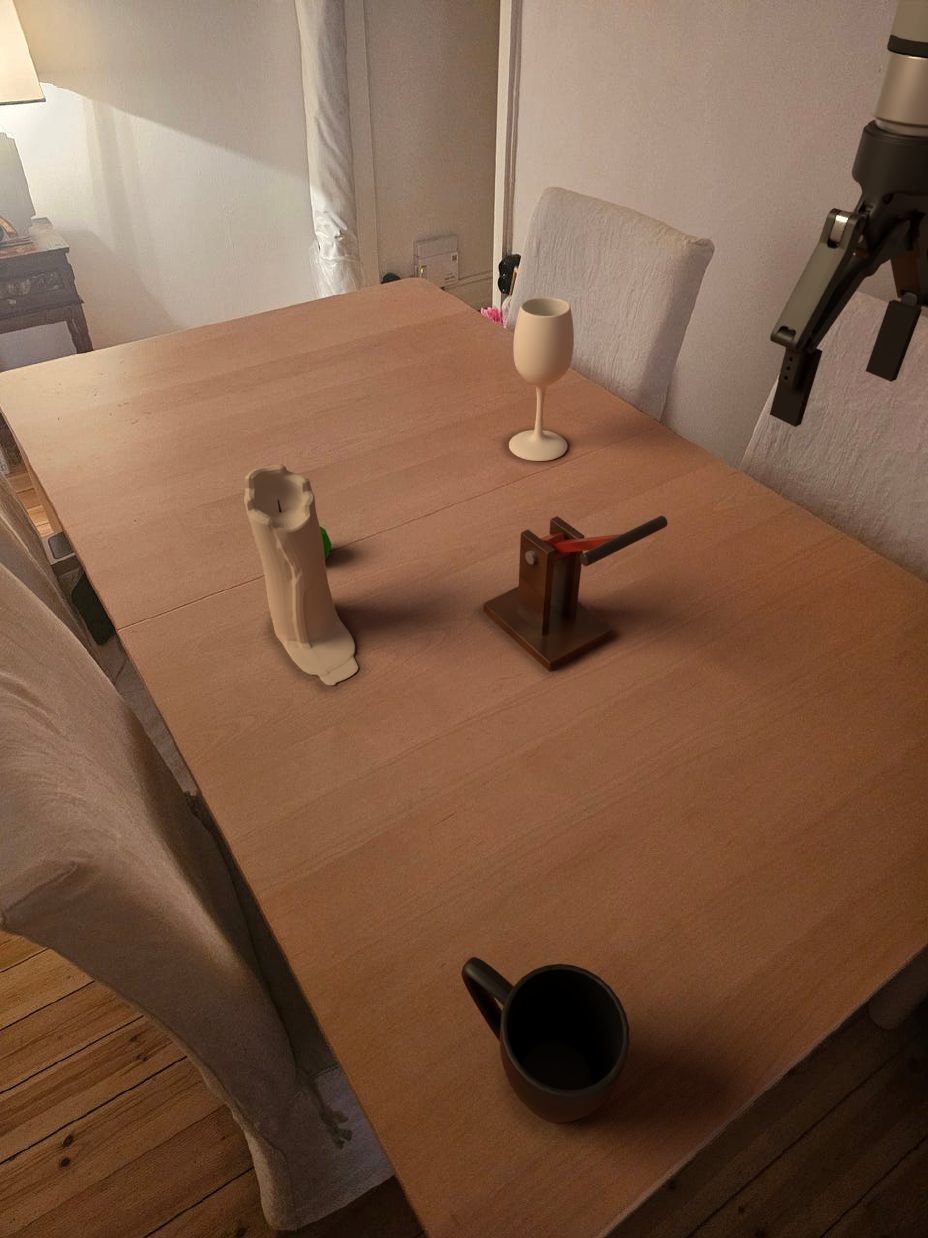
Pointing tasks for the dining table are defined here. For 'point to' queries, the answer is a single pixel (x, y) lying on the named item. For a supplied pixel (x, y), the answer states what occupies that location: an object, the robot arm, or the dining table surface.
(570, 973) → the mug
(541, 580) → the rod stand
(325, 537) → the polyhedron
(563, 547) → the red lever
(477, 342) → the dining table surface
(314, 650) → the candle
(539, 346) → the wineglass
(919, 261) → the robot arm
